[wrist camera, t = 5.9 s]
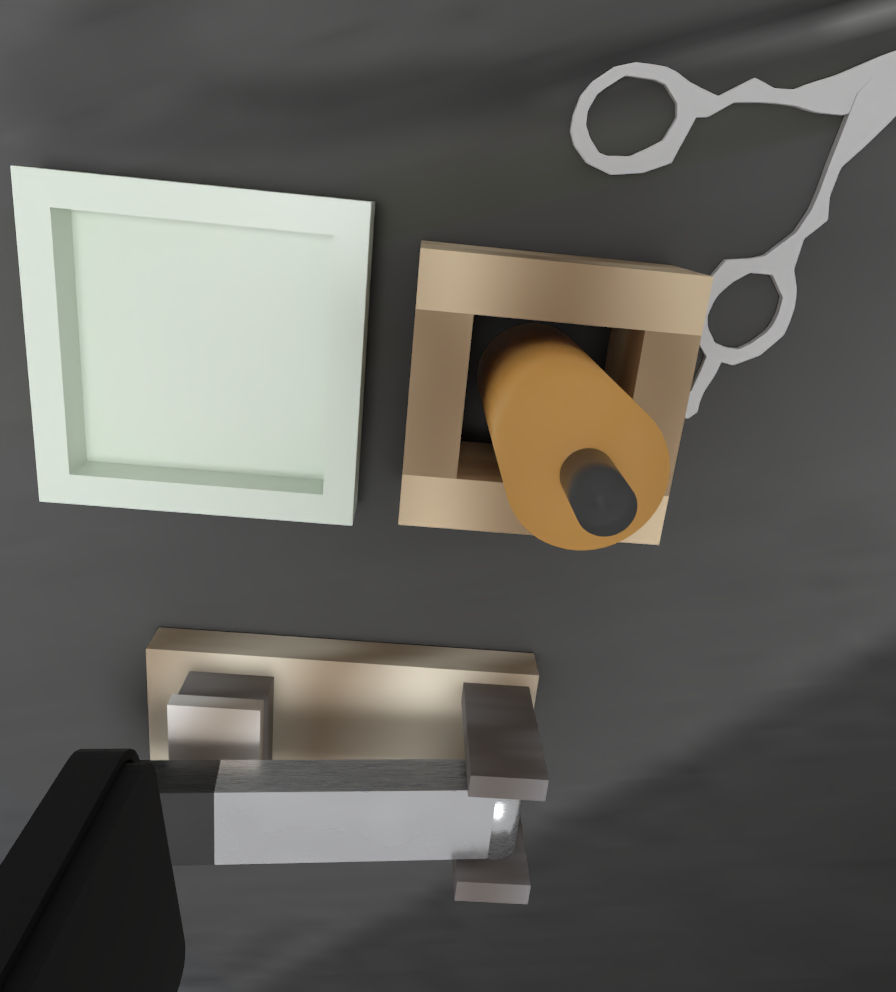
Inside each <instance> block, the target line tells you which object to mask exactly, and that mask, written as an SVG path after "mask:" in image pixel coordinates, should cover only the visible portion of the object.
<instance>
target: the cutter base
mask: <svg viewBox="0 0 896 992" xmlns="http://www.w3.org/2000/svg"><path fill="white" fill-rule="evenodd" d="M146 664H147V689H148V714H149V738H150V760H348V759H465V761H466V776H467V790H468V797H482V798H498V799H515V800H532V801H545V799H546V793H547V787H548V782H549V779H548V774H547V770H546V765H545V760H544V755H543V751H542V746H541V741H540V736H539V732H538V727H537V722H536V717H535V713H534V704H535V698H536V692H537V685H538V679H539V673H538V669H537V665H536V660H535V656H534V653H522V652H507V651H493V650H479V649H464V648H450V647H436V646H421V645H407V644H393V643H378V642H364V641H350V640H335V639H321V638H307V637H292V636H278V635H264V634H249V633H235V632H221V631H206V630H192V629H178V628H163V627H159V628H158V630H157V631H156V633H155V635H154V636H153V638H152V640H151V641H150V643H149V644H148V646H147V648H146ZM453 874H454V899H455V900H456V901H475V902H494V903H514V904H528V899H529V893H530V887H531V884H530V877H529V871H528V864H527V858H526V851H525V844H524V838H523V831H522V825H521V818H520V817H519V823H518V829H517V836H516V842H515V848H514V850H513V852H512V853H511V854H510V855H509V856H507V857H505V858H503V859H497V860H493V859H453Z"/></svg>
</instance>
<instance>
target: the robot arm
mask: <svg viewBox="0 0 896 992" xmlns="http://www.w3.org/2000/svg"><path fill="white" fill-rule="evenodd" d="M184 960H185V939H184V933H183V928H182V922H181V916H180V910H179V904H178V898H177V893H176V887H175V881H174V875H173V869H172V863H171V858H170V852H169V846H168V840H167V834H166V828H165V823H164V817H163V811H162V805H161V799H160V794H159V788H158V782H157V776H156V771H155V768H154V766H153V765H152V764H151V763H140V760H139V757H138V754H137V753H136V751H135V750H133V749H79V750H77V751H75V752H74V753H73V754H72V755H71V757H70V758H69V759H68V761H67V762H66V764H65V765H64V767H63V768H62V770H61V772H60V773H59V775H58V776H57V778H56V779H55V781H54V782H53V784H52V786H51V787H50V789H49V790H48V792H47V793H46V795H45V796H44V798H43V800H42V801H41V803H40V804H39V806H38V807H37V809H36V810H35V812H34V814H33V815H32V817H31V818H30V820H29V821H28V823H27V825H26V826H25V828H24V829H23V831H22V832H21V834H20V835H19V837H18V839H17V840H16V842H15V843H14V845H13V846H12V848H11V849H10V851H9V853H8V854H7V856H6V857H5V859H4V860H3V862H2V863H1V865H0V992H177V991H178V987H179V984H180V981H181V977H182V973H183V968H184Z"/></svg>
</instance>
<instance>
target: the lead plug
mask: <svg viewBox="0 0 896 992" xmlns="http://www.w3.org/2000/svg"><path fill="white" fill-rule="evenodd" d="M477 385H478V390H479V395H480V398H481V402H482V406H483V410H484V413H485V417H486V421H487V424H488V428H489V432H490V436H491V439H492V443H493V447H494V451H495V454H496V458H497V462H498V465H499V469H500V473H501V477H502V480H503V484H504V488H505V492H506V495H507V499H508V501H509V504H510V507H511V509H512V511H513V512H514V514H515V516H516V517H517V519H518V520H519V521H520V523H521V524H522V525H523V526H524V527H525V528H526V529H527V530H528V531H529V532H530V533H532V534H533V535H534V536H535V537H537V538H539V539H540V540H542V541H544V542H546V543H548V544H551V545H553V546H556V547H560V548H563V549H570V550H594V549H599V548H604V547H607V546H610V545H613V544H616V543H618V542H620V541H622V540H624V539H626V538H628V537H629V536H631V535H632V534H634V533H635V532H636V531H638V530H639V529H640V528H641V527H643V526H644V524H645V523H646V522H647V521H648V520H649V519H650V518H651V517H652V515H653V514H654V513H655V512H656V510H657V508H658V507H659V505H660V503H661V501H662V499H663V497H664V494H665V492H666V489H667V485H668V481H669V474H670V459H669V452H668V448H667V444H666V441H665V439H664V437H663V434H662V432H661V431H660V429H659V427H658V426H657V424H656V423H655V422H654V421H653V419H652V418H651V417H650V416H649V415H648V414H647V413H646V412H645V411H644V410H643V409H642V408H641V407H640V406H639V405H638V404H637V403H636V402H635V401H634V400H633V399H632V398H631V397H630V396H629V395H628V394H627V393H626V392H625V391H624V390H623V389H622V388H621V387H620V386H619V385H618V384H617V383H616V382H614V381H613V380H612V379H611V378H610V377H609V376H608V375H607V374H606V373H605V372H604V371H603V370H602V369H601V368H600V367H599V366H598V365H597V364H596V363H595V362H594V361H593V360H592V359H591V358H590V357H589V356H588V355H587V354H586V353H585V352H584V351H583V350H582V349H581V348H580V347H579V346H578V345H577V344H576V343H575V342H574V341H573V340H572V339H571V338H570V337H569V336H567V335H566V334H565V333H564V332H562V331H561V330H559V329H557V328H555V327H553V326H550V325H547V324H542V323H524V324H520V325H516V326H513V327H511V328H509V329H507V330H505V331H503V332H502V333H500V334H499V335H498V336H496V337H495V338H494V339H493V340H492V341H491V343H490V344H489V345H488V346H487V348H486V349H485V351H484V353H483V355H482V357H481V359H480V362H479V366H478V371H477Z"/></svg>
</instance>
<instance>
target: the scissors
mask: <svg viewBox="0 0 896 992" xmlns="http://www.w3.org/2000/svg"><path fill="white" fill-rule="evenodd" d="M624 76H625V77H632V78H640V79H646V80H653V81H655V82H657V83H660V84H662V85H664V87H665V89H666V90H667V92H668V94H669V95H670V97H671V98H672V100H673V102H674V103H675V119H674V121H673V122H672V124H671V126H670V127H669V129H668V130H667V132H666V134H665V135H664V137H663V139H662V140H661V141H660V142H658V143H656V144H654V145H652V146H650V147H648V148H646V149H644V150H642V151H639V152H637V153H635V154H633V155H631V156H606V155H604V154H601V153H599V152H598V150H597V149H596V147H595V145H594V143H593V142H592V140H591V138H590V136H589V133H588V130H587V127H586V121H587V114H588V109H589V108H590V106H591V104H592V103H593V101H594V99H595V97H596V96H597V94H598V93H600V92H601V91H602V90H604V89H605V88H606V87H608V86H609V85H611V84H613V83H614V82H616V81H617V80H619V79H620V78H622V77H624ZM732 103H763V104H776V105H784V106H791V107H795V108H798V109H801V110H804V111H808V112H811V113H817V114H827V115H836V116H841V115H844V117H843V120H842V122H841V125H840V128H839V130H838V133H837V135H836V138H835V140H834V143H833V146H832V148H831V151H830V153H829V156H828V158H827V161H826V163H825V166H824V169H823V172H822V174H821V177H820V180H819V183H818V186H817V188H816V191H815V194H814V196H813V198H812V200H811V203H810V205H809V207H808V210H807V211H806V213H805V214H804V216H803V217H802V219H801V220H800V222H799V223H798V225H797V226H796V228H795V229H794V231H793V232H792V233H791V234H789V235H788V236H787V237H785V238H784V239H783V240H781V241H780V242H779V243H777V244H776V245H775V246H774V247H772V248H771V249H770V250H768V251H767V252H766V253H764V254H763V255H760V256H756V257H751V258H738V259H723V261H722V262H721V263H720V264H719V265H718V266H717V268H716V269H715V270H714V271H713V272H712V274H711V275H710V276H712V277H713V282H712V287H711V292H710V297H709V302H708V307H707V312H706V317H705V322H704V326H703V331H702V336H701V341H700V346H699V347H700V349H701V350H702V352H703V354H704V358H703V360H702V362H701V365H700V367H699V369H698V372H697V374H696V376H695V378H694V380H693V383H692V385H691V390H690V395H689V400H688V405H687V410H686V415H685V418H687V419H688V418H690V417H691V416H693V415H694V414H695V413H697V411H698V408H699V403H700V400H701V398H702V395H703V393H704V391H705V390H706V388H707V387H708V385H709V384H710V382H711V381H712V379H713V378H714V376H715V374H716V372H717V370H718V368H719V366H720V364H721V362H723V363H727V364H730V365H735V364H738V363H741V362H743V361H746V360H749V359H752V358H754V357H757V356H760V355H761V354H762V353H764V352H765V351H766V350H767V349H768V348H769V347H771V346H772V345H773V344H774V343H775V342H776V341H778V340H779V339H780V338H781V337H782V336H783V335H784V334H785V332H786V329H787V327H788V325H789V323H790V320H791V317H792V314H793V311H794V308H795V303H796V293H797V287H796V280H795V274H794V268H795V265H796V262H797V259H798V256H799V253H800V250H801V247H802V244H803V241H804V238H806V237H807V236H808V235H810V234H811V233H812V232H813V231H815V230H816V229H817V228H819V227H820V226H821V225H823V224H824V223H825V222H826V221H828V212H829V200H830V194H831V192H832V189H833V187H834V184H835V182H836V179H837V177H838V174H839V172H840V169H841V167H842V166H843V165H845V164H846V163H847V162H848V161H849V160H850V159H851V158H852V157H854V156H855V155H856V154H857V153H858V152H859V151H860V150H861V149H863V148H864V147H865V146H866V145H867V144H868V143H869V142H870V141H871V140H872V139H873V138H874V137H875V136H876V135H877V134H878V133H879V132H880V131H881V130H882V129H883V128H884V127H886V126H887V125H888V124H889V123H890V122H891V121H892V119H893V118H894V117H895V116H896V51H893V52H890V53H887V54H884V55H881V56H879V57H876V58H874V59H872V60H869V61H867V62H865V63H862V64H860V65H858V66H855V67H853V68H851V69H848V70H846V71H844V72H841V73H839V74H837V75H834V76H831V77H828V78H825V79H821V80H818V81H815V82H812V83H809V84H805V85H803V86H800V87H798V88H795V89H779V88H773V87H771V86H769V85H767V84H766V83H764V82H762V81H760V80H758V79H756V78H753V79H750V80H748V81H746V82H744V83H742V84H740V85H738V86H736V87H734V88H732V89H731V90H729V91H727V92H725V93H723V94H721V95H719V96H717V95H715V94H713V93H711V92H708V91H706V90H704V89H702V88H700V87H698V86H697V85H695V84H693V83H691V82H689V81H688V80H686V79H685V78H684V77H683V76H681V75H680V74H679V73H678V72H676V71H674V70H672V69H670V68H668V67H666V66H659V65H653V64H646V63H638V62H634V63H630V64H625V65H620V66H616V67H613V68H612V69H610V70H609V71H607V72H606V73H604V74H603V75H601V76H600V77H598V78H597V79H595V80H594V81H592V82H591V83H590V84H589V85H588V87H587V88H586V89H585V90H584V91H583V93H582V94H581V95H580V96H579V99H578V102H577V104H576V107H575V109H574V112H573V115H572V120H571V126H570V131H569V132H570V136H571V140H572V144H573V147H574V148H575V149H576V151H577V152H578V154H579V155H580V156H581V158H582V159H583V161H584V162H585V163H586V164H588V165H590V166H592V167H594V168H596V169H598V170H600V171H602V172H605V173H607V174H609V175H616V174H632V173H644V172H647V171H650V170H653V169H655V168H658V167H661V166H664V165H667V164H670V163H672V161H673V159H674V157H675V156H676V154H677V152H678V150H679V148H680V146H681V144H682V143H683V141H684V139H685V137H686V135H687V133H688V132H689V130H690V128H691V126H692V124H693V122H694V120H695V119H696V118H706V117H709V116H711V115H712V114H714V113H716V112H718V111H720V110H721V109H723V108H725V107H727V106H729V105H730V104H732ZM749 273H758V274H768V275H770V277H771V279H772V281H773V283H774V285H775V288H776V290H777V292H778V294H779V296H780V297H779V301H778V305H777V308H776V312H775V314H774V316H773V318H772V320H771V322H770V324H769V325H768V326H767V328H766V329H765V330H764V331H763V332H762V333H761V334H759V335H758V336H756V337H755V338H754V339H752V340H751V341H750V342H748V343H745V344H743V345H741V346H739V347H737V348H733V347H724V346H722V345H719V344H717V343H715V342H714V340H713V337H712V335H711V333H710V331H709V329H708V314H709V312H710V309H711V307H712V305H713V302H714V301H715V299H716V298H717V296H718V295H719V294H720V293H721V292H722V291H723V290H724V289H725V288H727V287H728V286H729V285H730V284H731V283H732V282H734V281H736V280H738V279H739V278H741V277H743V276H745V275H747V274H749Z"/></svg>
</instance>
